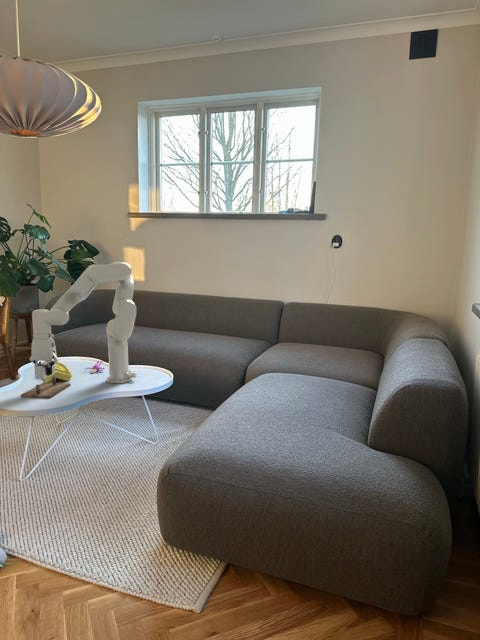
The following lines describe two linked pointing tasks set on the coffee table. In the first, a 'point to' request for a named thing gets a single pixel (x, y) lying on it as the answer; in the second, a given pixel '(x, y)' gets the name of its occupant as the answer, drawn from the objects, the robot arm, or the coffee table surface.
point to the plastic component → (60, 373)
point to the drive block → (42, 370)
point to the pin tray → (46, 389)
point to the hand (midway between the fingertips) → (44, 374)
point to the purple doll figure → (96, 368)
